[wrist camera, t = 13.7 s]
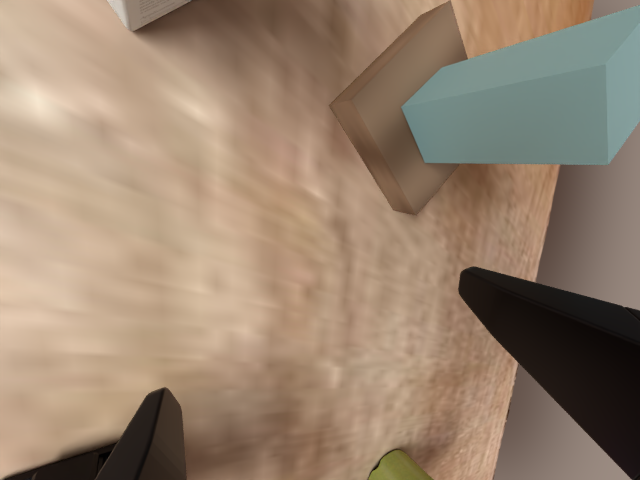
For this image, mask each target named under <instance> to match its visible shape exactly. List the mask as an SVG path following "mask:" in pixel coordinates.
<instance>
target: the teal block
mask: <svg viewBox="0 0 640 480" xmlns="http://www.w3.org/2000/svg"><path fill="white" fill-rule="evenodd" d="M401 108H402V110H403V113H404V115H405V117H406V120H407V122H408V124H409V127H410V129H411V131H412V134H413V136H414V138H415V141H416V143H417V145H418V148H419V150H420V153H421V155H422V157H423V160H424V162H425V163H478V164H580V165H585V164H586V165H588V164H589V165H608V164H609V163H610V162H611V160H612V159H613V157H614V156H615V155H616V153H617V152H618V150H619V149H620V148H621V146H622V145H623V143H624V142H625V141H626V139H627V137H629V135H630V134H631V132H632V131H633V130H634V128H635V127H636V125H637V124H638V123H639V121H640V5H638V6H635V7H632V8H629V9H626V10H623V11H619V12H616V13H613V14H610V15H607V16H604V17H600V18H597V19H594V20H591V21H588V22H585V23H581V24H578V25H575V26H572V27H569V28H565V29H562V30H559V31H556V32H553V33H550V34H546V35H543V36H540V37H537V38H534V39H531V40H527V41H524V42H521V43H518V44H515V45H512V46H508V47H505V48H502V49H499V50H496V51H493V52H489V53H486V54H483V55H480V56H477V57H474V58H470V59H467V60H464V61H461V62H458V63H454V64H451V65H448V66H445V67H442V68H441V69H440V70H439V71H438V72H437V73H436V74H434V75H433V76H432V77H431V78H430V79H429V80H428V81H427V82H426V83H425V84H424V85H423V86H422V87H421V88H420V89H419V90H418V91H417V92H416V93H415V94H414V95H413V96H412V97H411V98H410V99H409V100H408V101H407V102H406V103H405V104H404V105H403V106H402V107H401Z"/></svg>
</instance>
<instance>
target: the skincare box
mask: <svg viewBox="0 0 640 480" xmlns="http://www.w3.org/2000/svg"><path fill="white" fill-rule="evenodd" d="M107 1H108V3H109V4H110V5H111V7H112V8H113V10H114V11H115V12H116V14H117V15H118V17H119V18H120V20H121V21H122V22H123V24H124V25H125V27H126V28H127V29H128V30H130V31H135V30H137V29H139V28H141V27H142V26H144V25H146V24H148V23H150V22H152V21H154V20H156V19H158V18H159V17H161V16H163V15H165V14H167V13H169V12H171V11H173V10H175V9H177V8H179V7H180V6H182V5H184V4H186V3H188V2H190V1H192V0H107Z"/></svg>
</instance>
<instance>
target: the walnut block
mask: <svg viewBox="0 0 640 480" xmlns="http://www.w3.org/2000/svg"><path fill="white" fill-rule="evenodd" d="M467 59H468V58H467V55H466V51H465V48H464V45H463V41H462V38H461V34H460V31H459V28H458V24H457V21H456V17H455V14H454V11H453V7H452V4H451V0H450V1H448V2H446V3H444V4H442V5H440V6H438V7H436V8H434V9H432V10H430V11H428V12H426V13H424V14H422V15H420V16H419V17H418V18H417V19H416V20H415V21H414V22H413V23H412V24H411V25H410V26H409V27H408V28H407V29H406V30H405V31H404V32H403V33H402V34H401V35H400V36H399V37H398V38H397V39H396V40H395V41H394V42H393V43H392V44H391V45H390V46H389V47H388V48H387V49H386V50H385V51H384V52H383V53H382V54H381V55H380V56H379V57H378V58H377V59H376V60H375V61H374V62H373V63H372V64H371V65H370V66H369V67H368V68H367V69H366V70H365V71H364V72H363V73H362V74H361V75H359V76H358V77H357V78H356V79H355V80H354V81H353V82H352V83H351V84H350V85H349V86H348V87H347V88H346V89H345V90H344V91H343V92H342V93H341V94H340V95H339V96H338V97H337V98H336V99H335V100H334V101H333V102H332V103H331V104H330V105H329V106H330V108H331V109H332V111H333V113H334V114H335V116H336V118H337V119H338V121H339V122H340V124H341V126H342V127H343V129H344V131H345V132H346V134H347V135H348V137H349V139H350V140H351V142H352V144H353V145H354V147H355V149H356V150H357V152H358V153H359V155H360V157H361V158H362V160H363V162H364V163H365V165H366V166H367V168H368V170H369V171H370V173H371V175H372V176H373V178H374V179H375V181H376V183H377V184H378V186H379V188H380V189H381V191H382V192H383V194H384V196H385V197H386V199H387V201H388V202H389V204H390V205H391V207H392V209H393V210H395V211H400V212H404V213H408V214H412V215H417V214H418V213H419V212H420V210H421V209H422V208H423V207H424V206H425V204H426V203H427V202H428V201H429V200H430V199H431V197H432V196H433V195H434V194H435V193H436V191H437V190H438V189H439V188H440V187H441V185H442V184H443V183H444V182H445V181H446V180H447V178H448V177H449V176H450V175H451V174H452V172H453V171H454V170H455V169H456V168H457V167H458V165H459V164H460V163H425V162H424V160H423V157H422V155H421V153H420V150H419V148H418V145H417V143H416V141H415V138H414V136H413V134H412V131H411V129H410V127H409V124H408V122H407V120H406V117H405V115H404V113H403V110H402V108H401V107H402V106H403V105H404V104H405V103H406V102H407V101H408V100H409V99H410V98H411V97H412V96H413V95H414V94H415V93H416V92H417V91H418V90H419V89H420V88H421V87H422V86H423V85H424V84H425V83H426V82H427V81H428V80H429V79H430V78H431V77H432V76H433V75H434V74H436V73H437V72H438V71H439V70H440V69H441V68H442V67H445V66H448V65H451V64H454V63H458V62H461V61H464V60H467Z"/></svg>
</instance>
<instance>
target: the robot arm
mask: <svg viewBox="0 0 640 480" xmlns="http://www.w3.org/2000/svg"><path fill="white" fill-rule="evenodd" d="M458 291H459V294H460V296H461V298H462V299H463V300H464V301H465V303H466V304H467V305H468V306H469V308H470V309H471V310H472V311H473V313H474V314H475V315H476V316H477V317H478V319H479V320H480V321H481V322H482V324H483V325H484V326H485V327H486V329H487V330H488V331H489V332H490V333H491V335H492V336H493V337H494V338H495V339H496V340H497V341H498V342H499V343H500V344H501V345H502V346H503V347H504V348H505V349H506V350H507V351H508V352H509V353H510V354H511V356H512V357H513V358H514V359H515V360H516V361H517V362H518V363H519V364H520V365H521V366H522V367H523V368H524V369H525V370H526V371H527V372H528V373H529V374H530V375H531V376H532V377H533V378H534V379H535V380H536V381H537V382H538V383H539V384H540V385H541V386H542V387H543V388H544V390H545V391H547V393H548V394H549V395H550V396H551V397H552V398H553V399H554V400H555V401H556V402H557V403H558V404H559V405H560V406H561V407H562V408H563V409H564V410H565V411H566V412H567V413H568V414H569V415H570V416H571V417H572V418H573V419H574V420H575V421H576V423H578V425H579V426H580V427H581V428H582V429H583V430H584V431H585V432H586V433H587V434H588V435H589V436H590V437H591V438H592V439H593V440H594V441H595V442H596V443H597V444H598V445H599V446H600V447H601V448H602V449H603V450H604V451H605V452H606V453H607V454H608V456H609V457H610V458H612V460H613V461H614V462H615V463H616V464H617V465H618V466H619V467H620V468H621V469H622V470H623V471H624V472H625V473H626V474H627V475H628V476H629V477H630V478H631V479H632V480H640V311H639V310H636V309H632V308H628V307H623V306H620V305H617V304H613V303H609V302H605V301H602V300H598V299H595V298H591V297H587V296H583V295H579V294H576V293H572V292H568V291H564V290H561V289H557V288H553V287H550V286H546V285H542V284H538V283H535V282H531V281H527V280H523V279H520V278H516V277H512V276H508V275H505V274H501V273H497V272H493V271H490V270H486V269H482V268H478V267H470V268H467V269H465V270H463V271H462V272H461V274H460V280H459V288H458ZM5 480H186V461H185V447H184V433H183V420H182V410H181V406H180V404H179V403H178V401H177V400H176V399H175V397H174V396H173V394H172V393H171V392H170V390H169V389H168V388H166V387H164V388H161V389H158V390H155V391H153V392H151V393H149V394H148V395H147V396H146V397H145V399H144V400H143V402H142V404H141V405H140V407H139V409H138V410H137V412H136V413H135V415H134V417H133V418H132V420H131V422H130V423H129V425H128V426H127V428H126V430H125V431H124V433H123V435H122V436H121V438H120V439H119V441H118V443H116V444H113V445H110V446H107V447H104V448H101V449H98V450H95V451H92V452H89V453H85V454H82V455H79V456H76V457H73V458H70V459H67V460H64V461H61V462H58V463H55V464H51V465H48V466H45V467H42V468H39V469H36V470H33V471H30V472H27V473H24V474H21V475H17V476H14V477H11V478H8V479H5Z"/></svg>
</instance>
